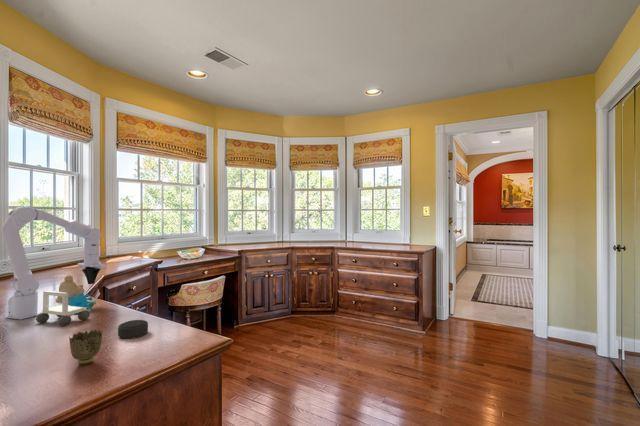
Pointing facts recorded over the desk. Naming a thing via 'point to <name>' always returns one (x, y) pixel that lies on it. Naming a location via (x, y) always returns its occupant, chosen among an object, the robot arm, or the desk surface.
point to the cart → (60, 309)
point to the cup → (85, 346)
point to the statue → (69, 288)
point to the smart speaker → (132, 329)
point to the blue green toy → (81, 301)
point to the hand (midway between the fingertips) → (91, 283)
